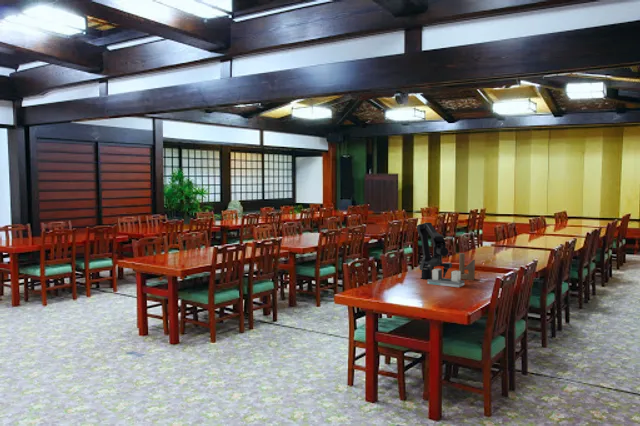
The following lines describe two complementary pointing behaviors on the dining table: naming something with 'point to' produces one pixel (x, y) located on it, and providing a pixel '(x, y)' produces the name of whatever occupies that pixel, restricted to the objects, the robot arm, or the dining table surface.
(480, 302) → the dining table surface
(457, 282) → the rail
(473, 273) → the beige frame piece
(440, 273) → the white rectangular block
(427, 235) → the robot arm
